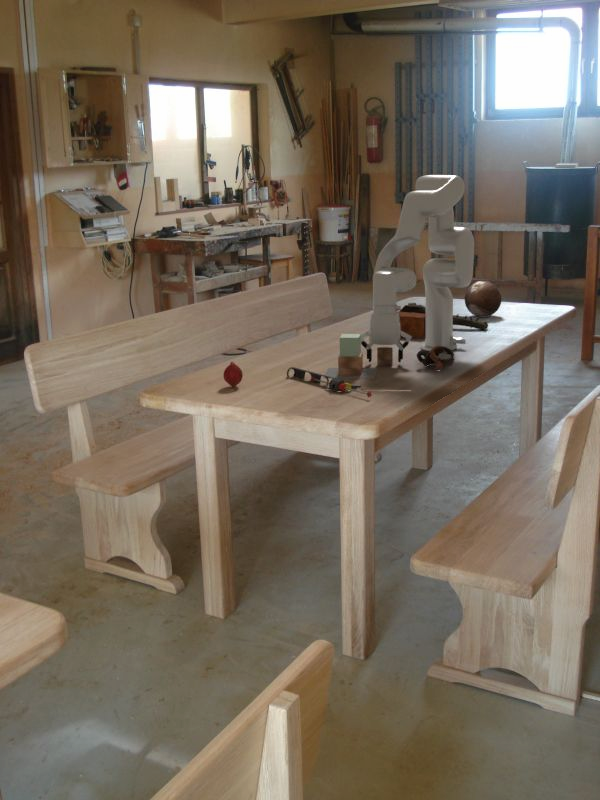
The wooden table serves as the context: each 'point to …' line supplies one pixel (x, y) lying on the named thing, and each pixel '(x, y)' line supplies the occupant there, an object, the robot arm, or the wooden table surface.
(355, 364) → the tower base
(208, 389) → the wooden table surface
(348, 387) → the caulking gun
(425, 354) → the pottery mug
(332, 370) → the mat
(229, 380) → the onion
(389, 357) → the dowel
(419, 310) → the wooden club
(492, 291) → the wooden sphere
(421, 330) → the brick
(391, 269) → the robot arm
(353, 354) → the tower mid
